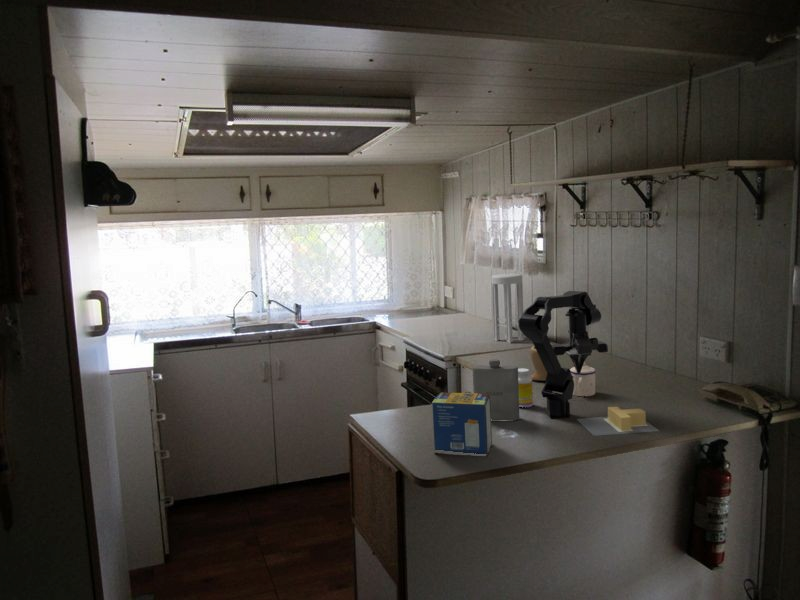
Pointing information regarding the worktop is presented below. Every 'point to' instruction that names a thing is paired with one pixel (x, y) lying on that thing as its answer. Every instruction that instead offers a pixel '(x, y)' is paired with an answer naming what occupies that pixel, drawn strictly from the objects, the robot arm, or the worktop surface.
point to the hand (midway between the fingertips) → (578, 372)
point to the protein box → (462, 422)
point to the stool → (507, 305)
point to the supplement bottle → (525, 388)
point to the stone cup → (537, 366)
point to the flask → (498, 388)
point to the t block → (626, 417)
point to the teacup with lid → (584, 381)
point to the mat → (611, 427)
